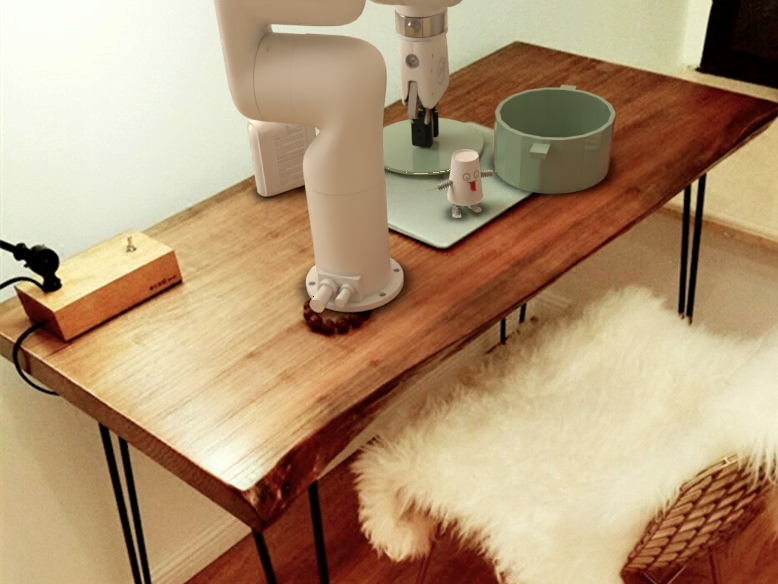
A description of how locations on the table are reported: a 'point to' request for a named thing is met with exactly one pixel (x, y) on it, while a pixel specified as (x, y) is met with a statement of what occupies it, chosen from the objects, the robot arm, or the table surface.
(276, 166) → the photo printer
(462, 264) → the table surface
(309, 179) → the robot arm
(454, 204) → the toy figure
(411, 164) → the lid
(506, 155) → the pot
